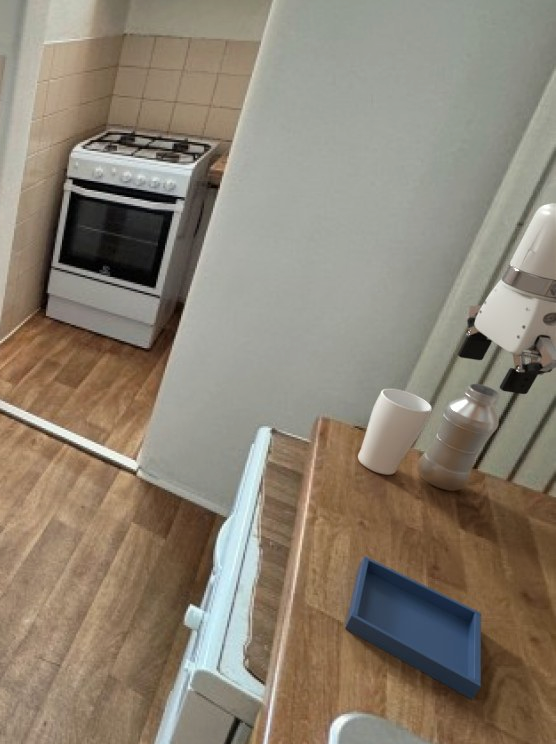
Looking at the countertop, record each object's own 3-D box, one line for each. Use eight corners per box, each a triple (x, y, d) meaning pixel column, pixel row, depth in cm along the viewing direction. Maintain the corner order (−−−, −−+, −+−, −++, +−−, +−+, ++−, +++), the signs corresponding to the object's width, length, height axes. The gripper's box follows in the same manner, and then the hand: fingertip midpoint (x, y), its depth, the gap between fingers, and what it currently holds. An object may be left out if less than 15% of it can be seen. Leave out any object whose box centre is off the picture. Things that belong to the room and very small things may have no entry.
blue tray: (358, 567, 91) (364, 555, 90) (473, 625, 83) (481, 612, 82) (344, 628, 82) (351, 615, 81) (472, 700, 74) (480, 686, 73)
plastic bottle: (466, 485, 107) (516, 393, 99) (457, 502, 103) (508, 407, 96) (418, 463, 112) (462, 374, 104) (407, 478, 108) (452, 387, 101)
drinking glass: (342, 452, 114) (370, 387, 109) (378, 453, 114) (408, 388, 109) (372, 478, 108) (404, 411, 103) (410, 480, 108) (444, 412, 102)
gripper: (622, 312, 84) (562, 411, 91) (526, 263, 100) (480, 350, 106) (554, 304, 86) (500, 401, 93) (470, 257, 102) (428, 343, 108)
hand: (489, 374), depth 99 cm, fingers open, 9 cm apart
